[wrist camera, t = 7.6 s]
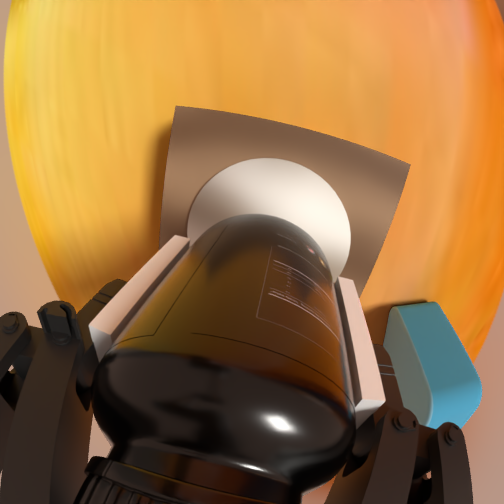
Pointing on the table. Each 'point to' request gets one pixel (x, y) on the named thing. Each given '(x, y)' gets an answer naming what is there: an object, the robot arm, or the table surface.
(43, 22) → the table surface
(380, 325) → the table surface
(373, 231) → the base
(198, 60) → the table surface
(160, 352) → the supplement bottle
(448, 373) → the light-blue rounded block
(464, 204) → the table surface
